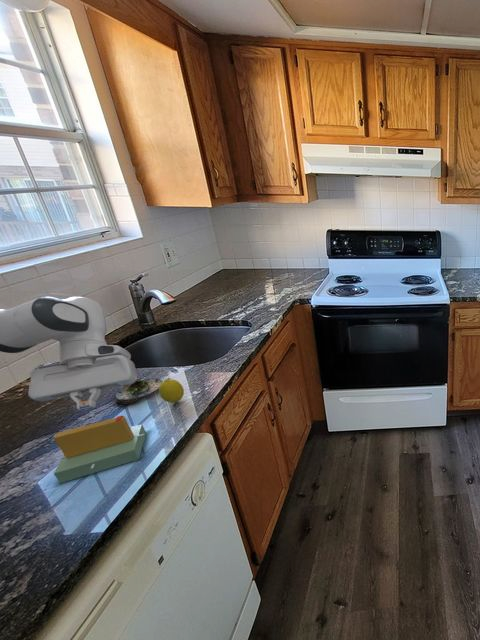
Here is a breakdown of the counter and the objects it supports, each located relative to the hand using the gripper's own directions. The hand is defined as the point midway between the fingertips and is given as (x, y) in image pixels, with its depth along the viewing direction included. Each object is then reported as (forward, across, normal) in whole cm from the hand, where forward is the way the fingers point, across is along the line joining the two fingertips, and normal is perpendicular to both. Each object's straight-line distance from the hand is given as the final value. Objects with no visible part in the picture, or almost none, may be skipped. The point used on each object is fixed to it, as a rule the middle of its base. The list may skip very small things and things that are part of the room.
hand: (86, 408), depth 90 cm
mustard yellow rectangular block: (+11, +4, -3) cm, 12 cm away
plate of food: (-8, +4, +21) cm, 23 cm away
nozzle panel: (+13, +4, -1) cm, 14 cm away
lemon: (0, +15, +13) cm, 20 cm away
